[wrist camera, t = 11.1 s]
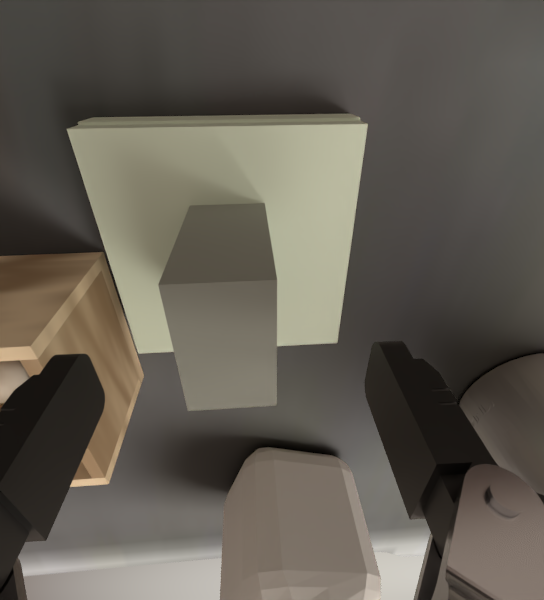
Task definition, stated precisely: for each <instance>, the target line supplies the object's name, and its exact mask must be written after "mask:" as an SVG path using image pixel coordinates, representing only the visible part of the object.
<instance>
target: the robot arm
mask: <svg viewBox="0 0 544 600" xmlns="http://www.w3.org/2000/svg"><path fill="white" fill-rule="evenodd" d="M365 393H366V398H367V401H368V404H369V407H370V410H371V412H372V415H373V418H374V421H375V423H376V426H377V429H378V432H379V435H380V437H381V440H382V443H383V446H384V449H385V451H386V454H387V457H388V460H389V462H390V465H391V468H392V471H393V474H394V476H395V479H396V482H397V485H398V488H399V490H400V493H401V496H402V499H403V502H404V504H405V507H406V510H407V513H408V515H409V518H410V519H426V521H427V523H428V526H429V528H430V531H431V534H430V537H429V540H428V544H427V548H426V552H425V556H424V560H423V564H422V568H421V572H420V576H419V581H418V585H417V589H416V592H415V596H414V600H544V353H539V354H534V355H529V356H524V357H521V358H518V359H515V360H512V361H509V362H507V363H505V364H503V365H501V366H498V367H496V368H495V369H493V370H491V371H490V372H488V373H486V374H485V375H483V376H482V377H481V378H480V379H478V380H477V381H476V382H475V383H474V384H473V385H472V386H471V387H470V388H469V389H468V390H467V391H466V392H465V394H464V395H463V397H462V399H461V400H460V403H459V405H457V401H456V399H455V398H454V396H453V394H452V393H451V391H449V390H448V387H447V385H446V383H445V382H444V380H443V379H442V377H441V376H440V374H439V372H438V371H436V370H435V369H434V368H433V367H432V366H430V365H429V364H428V363H427V362H426V361H425V360H423V359H413V357H412V356H411V354H410V352H409V350H408V349H407V347H406V345H405V344H404V343H403V342H402V341H390V342H375V343H374V344H373V345H372V349H371V354H370V358H369V363H368V368H367V373H366V377H365ZM104 406H105V393H104V389H103V387H102V384H101V382H100V380H99V377H98V375H97V373H96V370H95V368H94V366H93V364H92V361H91V359H90V357H89V356H88V355H87V354H84V353H83V354H59V355H54V356H53V357H52V358H51V359H50V360H49V361H48V363H47V364H46V365H45V367H44V368H43V370H42V371H41V372H40V374H39V375H33V376H31V377H30V378H29V379H28V380H26V381H25V382H24V383H23V384H21V385H20V386H19V387H18V388H16V389H15V390H14V391H13V393H12V394H11V395H10V397H9V398H8V399H7V400H6V402H5V403H4V404H3V406H2V407H1V411H0V600H27V596H26V590H25V585H24V579H23V573H22V567H21V563H20V560H19V559H18V555H19V553H20V551H21V549H22V547H23V545H24V543H25V542H31V541H46V540H47V537H48V535H49V533H50V530H51V528H52V526H53V524H54V521H55V519H56V517H57V515H58V512H59V510H60V508H61V506H62V503H63V501H64V499H65V497H66V494H67V492H68V490H69V488H70V485H71V483H72V481H73V478H74V476H75V474H76V472H77V469H78V467H79V465H80V463H81V460H82V458H83V456H84V454H85V451H86V449H87V447H88V445H89V442H90V440H91V438H92V436H93V433H94V431H95V429H96V426H97V424H98V422H99V420H100V417H101V415H102V413H103V410H104Z"/></svg>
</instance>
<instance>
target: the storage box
mask: <svg viewBox="0 0 544 600" xmlns="http://www.w3.org/2000/svg"><path fill="white" fill-rule="evenodd" d="M83 353H84V354H87V355H88V356H89V357H90V359H91V361H92V364H93V366H94V368H95V370H96V373H97V375H98V377H99V380H100V382H101V384H102V387H103V389H104V393H105V406H104V410H103V413H102V415H101V417H100V420H99V422H98V424H97V426H96V429H95V431H94V433H93V436H92V438H91V440H90V442H89V445H88V447H87V449H86V451H85V454H84V456H83V458H82V460H81V463H80V465H79V467H78V469H77V472H76V474H75V476H74V478H73V481H72V483H71V485H70V487H76V486H89V485H103V484H109V482H110V479H111V476H112V473H113V469H114V466H115V463H116V460H117V457H118V454H119V451H120V448H121V445H122V442H123V439H124V436H125V433H126V430H127V426H128V423H129V420H130V417H131V414H132V411H133V408H134V405H135V402H136V399H137V396H138V393H139V390H140V387H141V383H142V380H143V377H144V374H143V371H142V368H141V365H140V362H139V359H138V356H137V353H136V350H135V347H134V343H133V340H132V337H131V334H130V331H129V328H128V325H127V322H126V319H125V316H124V313H123V310H122V307H121V304H120V301H119V298H118V295H117V292H116V289H115V286H114V283H113V280H112V277H111V274H110V271H109V268H108V265H107V261H106V258H105V255H104V252H90V253H65V254H40V255H15V256H0V411H1V407H2V406H3V404H4V403H5V402H6V400H7V399H8V398H9V397H10V395H11V394H12V393H13V391H14V390H15V389H16V388H18V387H19V386H20V385H21V384H23V383H24V382H25V381H26V380H28V379H29V378H30V377H31V376H33V375H39V374H40V372H41V371H42V370H43V368H44V367H45V365H46V364H47V363H48V361H49V360H50V359H51V358H52V357H53V356H54V355H59V354H83Z"/></svg>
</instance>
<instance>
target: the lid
mask: <svg viewBox="0 0 544 600" xmlns="http://www.w3.org/2000/svg"><path fill="white" fill-rule="evenodd" d="M367 127H368V124H367V123H364V122H362V121H360V117H357V116H355V115H352V114H286V115H218V116H150V117H92V118H89V119H86V120H82V121H79V122H78V125H77V126H74V127H71V128H68V129H67V132H68V135H69V138H70V141H71V144H72V147H73V151H74V154H75V157H76V160H77V163H78V166H79V169H80V172H81V176H82V179H83V182H84V185H85V188H86V191H87V194H88V197H89V201H90V204H91V207H92V210H93V213H94V216H95V219H96V222H97V226H98V229H99V232H100V235H101V238H102V241H103V244H104V247H105V251H106V254H107V257H108V260H109V263H110V266H111V269H112V272H113V276H114V279H115V282H116V285H117V288H118V291H119V294H120V297H121V301H122V304H123V307H124V310H125V313H126V316H127V319H128V322H129V326H130V329H131V332H132V335H133V338H134V341H135V344H136V347H137V351H138V354H140V353H158V352H174V354H175V358H176V363H177V367H178V371H179V375H180V380H181V384H182V388H183V392H184V397H185V401H186V405H187V409H188V411H197V410H213V409H229V408H244V407H260V406H276V405H277V346H290V345H309V344H328V343H337V341H338V333H339V326H340V319H341V312H342V305H343V298H344V291H345V284H346V276H347V269H348V262H349V255H350V248H351V241H352V234H353V227H354V219H355V212H356V205H357V198H358V191H359V184H360V177H361V170H362V162H363V155H364V148H365V141H366V134H367Z"/></svg>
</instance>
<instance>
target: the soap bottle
mask: <svg viewBox="0 0 544 600" xmlns="http://www.w3.org/2000/svg"><path fill="white" fill-rule="evenodd" d="M380 596H381V578H380V574H379V570H378V566H377V562H376V559H375V555H374V551H373V548H372V544H371V540H370V537H369V533H368V529H367V526H366V522H365V518H364V514H363V511H362V507H361V503H360V500H359V496H358V492H357V489H356V485H355V481H354V478H353V474H352V472H351V470H350V468H349V466H348V465H347V464H346V463H345V462H344V461H342V460H341V459H339V458H337V457H335V456H332V455H325V454H318V453H310V452H302V451H295V450H287V449H279V448H272V447H265V448H258V449H257V450H256V451H255V452H254V453H252V454H251V455H250V456H249V457H248V458H247V459H246V460H245V462H244V463H243V465H242V467H241V469H240V471H239V473H238V475H237V477H236V479H235V481H234V483H233V485H232V487H231V488H230V490H229V492H228V494H227V497H226V501H225V504H224V520H223V543H222V567H221V589H220V600H380Z"/></svg>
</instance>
